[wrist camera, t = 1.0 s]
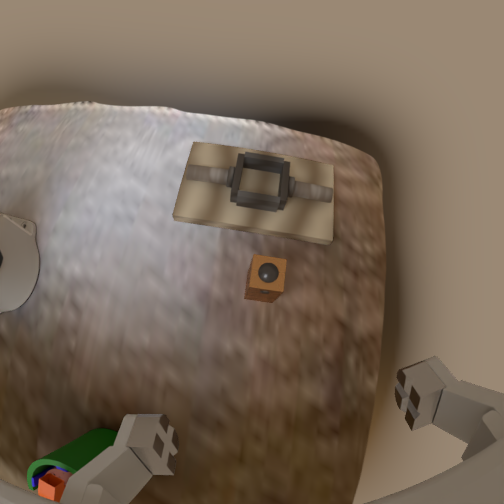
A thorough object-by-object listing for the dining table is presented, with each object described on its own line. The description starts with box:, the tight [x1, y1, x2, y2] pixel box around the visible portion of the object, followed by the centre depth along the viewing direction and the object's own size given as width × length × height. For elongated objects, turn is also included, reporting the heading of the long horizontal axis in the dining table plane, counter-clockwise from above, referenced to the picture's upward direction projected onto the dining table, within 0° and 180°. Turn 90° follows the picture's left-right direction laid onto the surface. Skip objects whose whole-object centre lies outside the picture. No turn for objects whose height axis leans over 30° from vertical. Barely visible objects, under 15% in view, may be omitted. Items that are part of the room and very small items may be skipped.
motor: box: [27, 428, 118, 502], centre depth 23 cm, size 10×9×20 cm
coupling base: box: [173, 142, 334, 245], centre depth 45 cm, size 24×14×5 cm, turn 82°
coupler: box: [244, 254, 287, 303], centre depth 39 cm, size 4×4×8 cm
